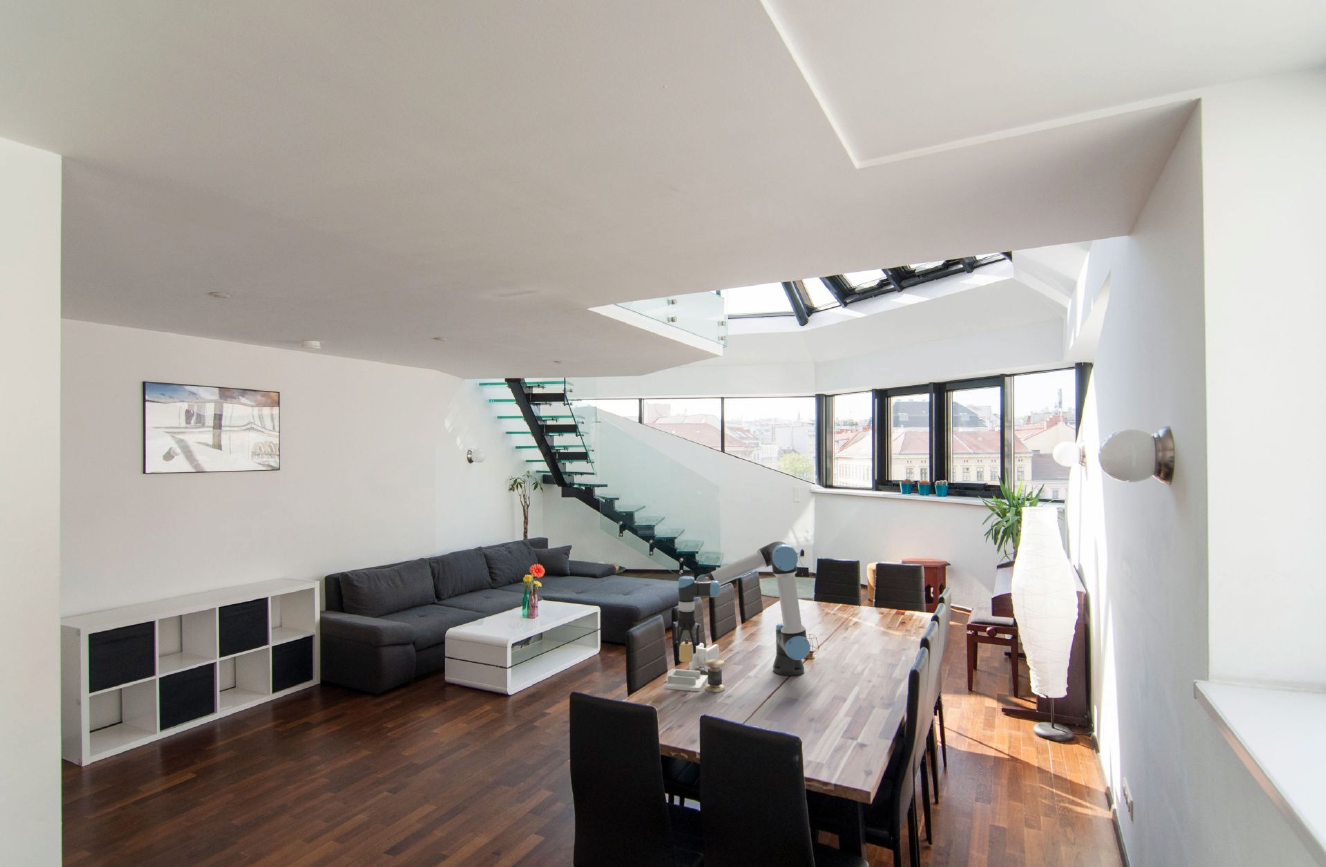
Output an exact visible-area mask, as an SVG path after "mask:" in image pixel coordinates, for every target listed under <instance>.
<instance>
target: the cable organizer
mask: <svg viewBox="0 0 1326 867" xmlns="http://www.w3.org/2000/svg"><path fill="white" fill-rule="evenodd" d="M719 646H720V645H719V644H718V643H717V644H715V643H714V644H713V645H711V646H710V647H709V648H707V647H706V648H705V644H704V643H703V642H700V645H699V646H696V653H695V654H694V661H692V662H688V664H689V666H688V670H694V671H697V670H699V669H700V668H703V670H705V672H706V673H707V674H708V669H710V667H707V666H705V661H707V660H712V659H716V660H720V649H719Z"/></svg>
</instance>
